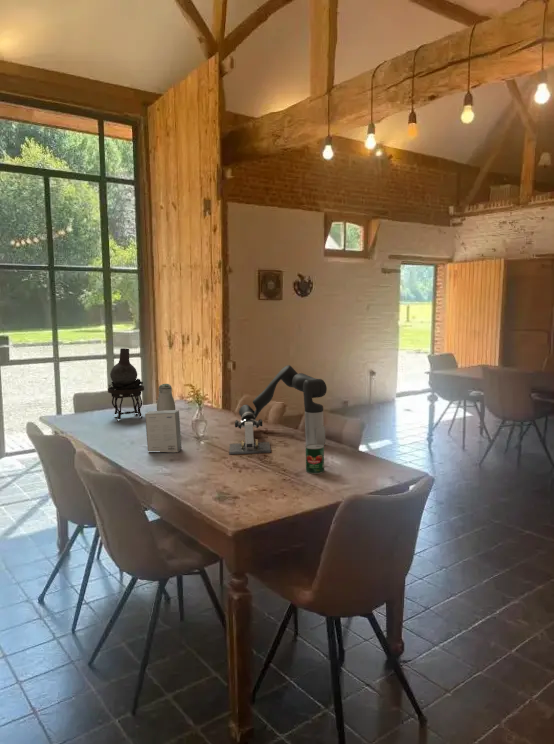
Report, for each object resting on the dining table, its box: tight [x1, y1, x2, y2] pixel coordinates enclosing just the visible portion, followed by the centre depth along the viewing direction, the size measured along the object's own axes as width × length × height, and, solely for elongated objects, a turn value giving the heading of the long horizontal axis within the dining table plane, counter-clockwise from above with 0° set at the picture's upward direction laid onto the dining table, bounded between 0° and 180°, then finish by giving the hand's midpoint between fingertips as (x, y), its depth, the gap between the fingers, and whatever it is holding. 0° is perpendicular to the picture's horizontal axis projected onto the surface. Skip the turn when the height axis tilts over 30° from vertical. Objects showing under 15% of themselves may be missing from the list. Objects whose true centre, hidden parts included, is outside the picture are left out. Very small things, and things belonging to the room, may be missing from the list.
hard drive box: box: [144, 409, 182, 453], centre depth 284 cm, size 16×8×20 cm, turn 84°
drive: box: [244, 422, 255, 449], centre depth 283 cm, size 6×4×12 cm, turn 3°
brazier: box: [107, 348, 145, 419], centre depth 368 cm, size 22×22×45 cm
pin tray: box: [228, 438, 272, 455], centre depth 283 cm, size 16×20×4 cm
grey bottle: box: [156, 383, 176, 411], centre depth 323 cm, size 10×10×28 cm
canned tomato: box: [305, 444, 325, 475], centre depth 244 cm, size 8×8×11 cm
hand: (248, 426), depth 291 cm, fingers open, 8 cm apart
